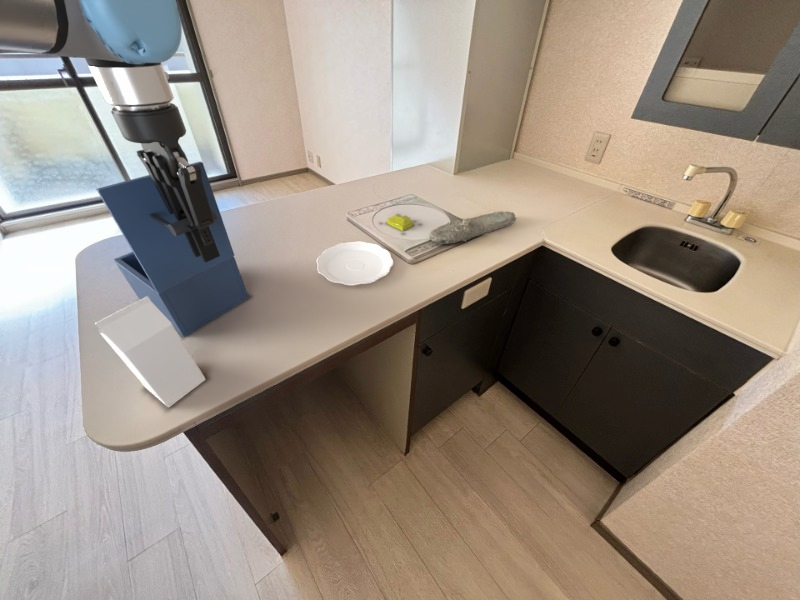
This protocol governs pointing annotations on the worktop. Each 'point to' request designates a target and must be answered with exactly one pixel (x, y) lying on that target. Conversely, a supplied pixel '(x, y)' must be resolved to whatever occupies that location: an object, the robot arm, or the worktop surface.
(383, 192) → the worktop surface
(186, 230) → the cool box lid
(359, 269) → the plate
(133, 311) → the milk carton
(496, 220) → the elongated rock
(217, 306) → the cool box
